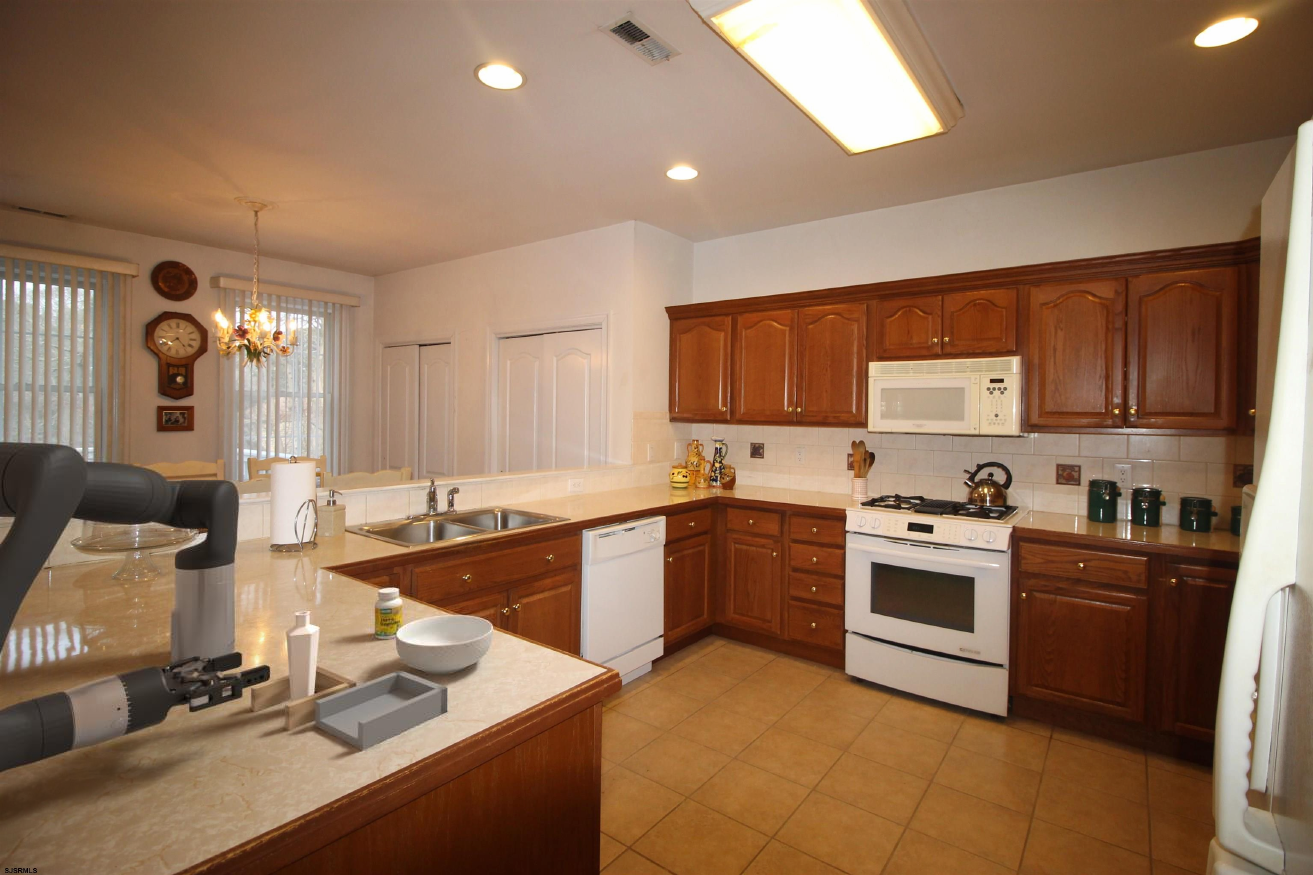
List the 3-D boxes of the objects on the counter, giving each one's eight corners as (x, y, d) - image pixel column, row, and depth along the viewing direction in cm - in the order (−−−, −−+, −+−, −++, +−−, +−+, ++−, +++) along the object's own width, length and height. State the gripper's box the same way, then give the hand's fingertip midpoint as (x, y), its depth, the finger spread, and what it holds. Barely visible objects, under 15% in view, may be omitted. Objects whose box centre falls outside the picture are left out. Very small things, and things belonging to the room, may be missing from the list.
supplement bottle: (399, 629, 134) (399, 585, 134) (404, 636, 130) (405, 591, 129) (372, 633, 131) (372, 588, 131) (376, 641, 127) (377, 594, 126)
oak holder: (289, 730, 90) (289, 706, 90) (251, 709, 96) (251, 687, 96) (356, 703, 99) (356, 682, 99) (317, 686, 105) (317, 665, 105)
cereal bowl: (399, 692, 103) (400, 650, 103) (391, 657, 118) (391, 621, 118) (502, 674, 111) (502, 635, 111) (482, 644, 126) (482, 610, 126)
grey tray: (362, 750, 85) (363, 723, 85) (315, 725, 92) (315, 700, 92) (447, 711, 97) (447, 687, 97) (399, 692, 103) (399, 670, 103)
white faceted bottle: (293, 701, 99) (293, 608, 99) (322, 701, 100) (322, 608, 99) (278, 715, 95) (278, 617, 94) (308, 714, 95) (308, 617, 95)
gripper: (135, 691, 74) (279, 650, 87) (93, 663, 82) (231, 630, 95) (135, 753, 74) (279, 702, 88) (94, 720, 82) (232, 678, 95)
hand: (254, 664), depth 91 cm, fingers open, 8 cm apart
